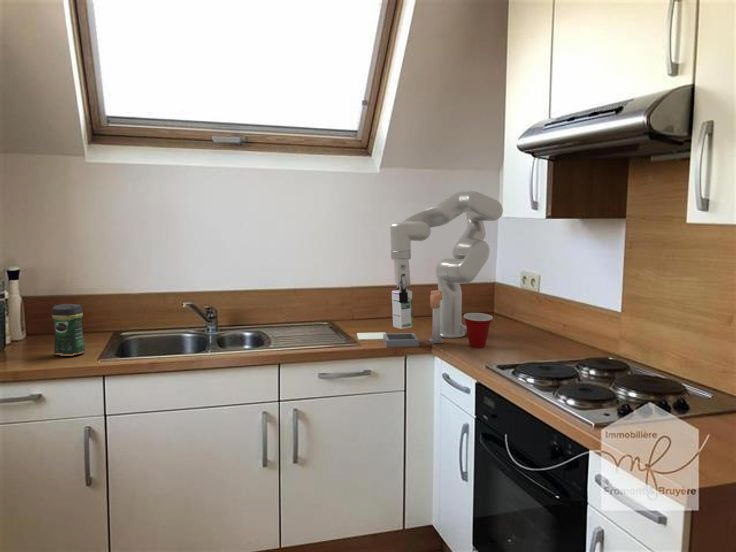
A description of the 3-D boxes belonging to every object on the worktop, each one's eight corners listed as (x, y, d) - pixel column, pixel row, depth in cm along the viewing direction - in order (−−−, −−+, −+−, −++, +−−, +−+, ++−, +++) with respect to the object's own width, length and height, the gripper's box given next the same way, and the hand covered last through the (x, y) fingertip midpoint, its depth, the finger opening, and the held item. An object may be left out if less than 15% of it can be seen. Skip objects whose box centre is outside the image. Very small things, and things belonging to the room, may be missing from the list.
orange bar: (431, 298, 229) (431, 286, 228) (442, 298, 228) (442, 286, 227) (428, 308, 204) (428, 295, 204) (441, 308, 204) (441, 295, 203)
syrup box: (401, 329, 223) (400, 291, 221) (392, 326, 228) (391, 290, 226) (413, 327, 226) (412, 290, 224) (404, 324, 231) (403, 288, 229)
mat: (385, 333, 245) (385, 332, 245) (388, 339, 234) (388, 338, 234) (356, 333, 245) (356, 333, 245) (358, 340, 233) (358, 339, 233)
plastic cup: (470, 350, 213) (471, 318, 212) (458, 344, 224) (458, 313, 222) (497, 348, 216) (498, 316, 215) (484, 342, 227) (484, 312, 225)
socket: (439, 338, 234) (439, 298, 232) (445, 345, 222) (446, 302, 220) (383, 340, 233) (383, 299, 231) (386, 347, 220) (386, 304, 219)
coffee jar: (89, 352, 214) (86, 302, 212) (74, 358, 207) (71, 306, 205) (65, 351, 216) (62, 302, 214) (50, 357, 208) (47, 305, 206)
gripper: (414, 257, 215) (415, 304, 217) (407, 253, 232) (408, 297, 234) (393, 257, 215) (395, 305, 217) (388, 253, 232) (390, 297, 234)
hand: (402, 300), depth 226 cm, fingers closed on syrup box, 7 cm apart
